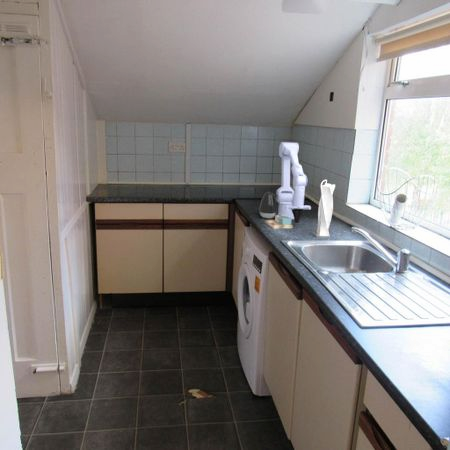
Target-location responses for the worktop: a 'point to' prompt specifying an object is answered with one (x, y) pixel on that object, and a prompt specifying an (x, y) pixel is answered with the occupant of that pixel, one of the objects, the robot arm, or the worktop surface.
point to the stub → (285, 220)
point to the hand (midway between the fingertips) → (296, 222)
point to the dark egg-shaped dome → (268, 205)
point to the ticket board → (277, 223)
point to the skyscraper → (325, 210)
